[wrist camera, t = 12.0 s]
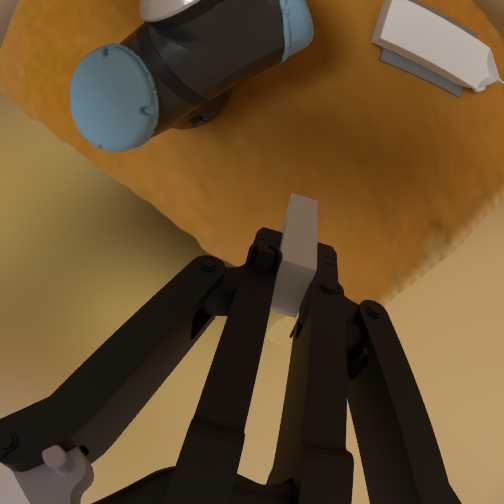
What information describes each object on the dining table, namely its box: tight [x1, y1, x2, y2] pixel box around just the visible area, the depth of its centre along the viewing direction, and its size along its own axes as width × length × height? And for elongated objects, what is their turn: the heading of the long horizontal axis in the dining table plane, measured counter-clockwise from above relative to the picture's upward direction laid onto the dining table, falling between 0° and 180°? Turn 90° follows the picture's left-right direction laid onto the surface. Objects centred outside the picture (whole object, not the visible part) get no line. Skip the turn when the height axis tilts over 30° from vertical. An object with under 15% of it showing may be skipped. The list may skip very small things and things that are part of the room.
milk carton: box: [371, 0, 504, 92], centre depth 30 cm, size 7×7×19 cm
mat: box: [379, 0, 478, 97], centre depth 33 cm, size 14×12×1 cm
